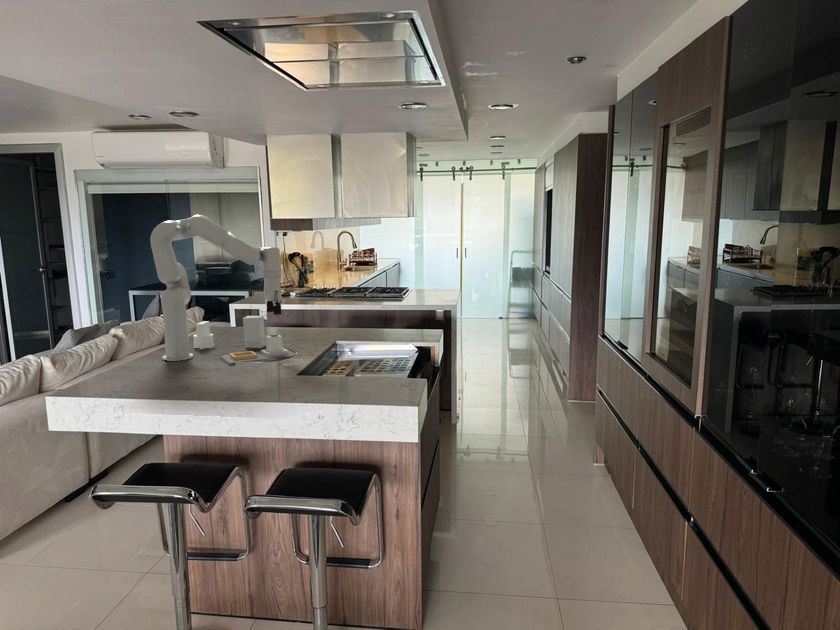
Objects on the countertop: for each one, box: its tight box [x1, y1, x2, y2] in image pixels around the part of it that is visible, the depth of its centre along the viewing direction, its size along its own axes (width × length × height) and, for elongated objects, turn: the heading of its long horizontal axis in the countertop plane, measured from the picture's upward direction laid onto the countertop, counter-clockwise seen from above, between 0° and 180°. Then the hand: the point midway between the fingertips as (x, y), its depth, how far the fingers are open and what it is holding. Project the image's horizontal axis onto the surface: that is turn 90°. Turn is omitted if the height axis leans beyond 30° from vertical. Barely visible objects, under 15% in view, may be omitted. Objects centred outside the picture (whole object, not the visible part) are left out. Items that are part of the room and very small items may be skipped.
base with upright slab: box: [193, 320, 215, 350], centre depth 276 cm, size 9×9×12 cm
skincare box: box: [242, 315, 266, 349], centre depth 273 cm, size 8×7×16 cm
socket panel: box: [219, 347, 298, 366], centre depth 255 cm, size 16×30×2 cm, turn 122°
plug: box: [265, 333, 283, 352], centre depth 258 cm, size 4×6×9 cm, turn 123°
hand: (274, 313), depth 256 cm, fingers open, 9 cm apart
